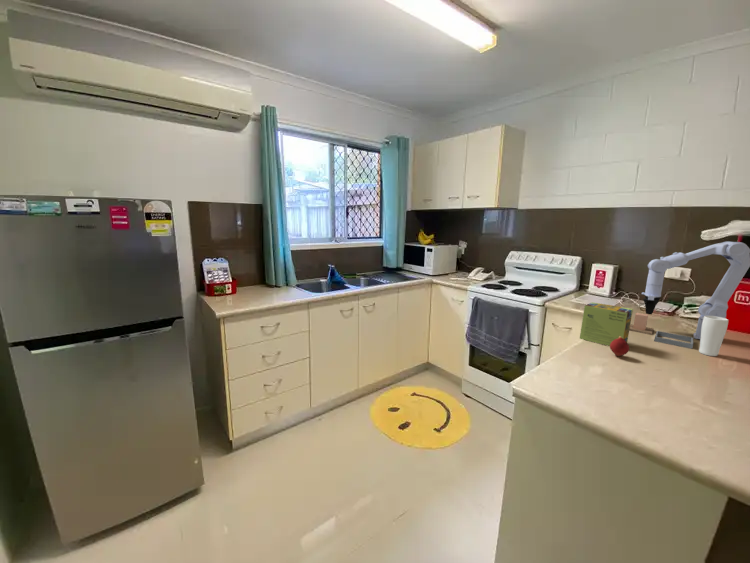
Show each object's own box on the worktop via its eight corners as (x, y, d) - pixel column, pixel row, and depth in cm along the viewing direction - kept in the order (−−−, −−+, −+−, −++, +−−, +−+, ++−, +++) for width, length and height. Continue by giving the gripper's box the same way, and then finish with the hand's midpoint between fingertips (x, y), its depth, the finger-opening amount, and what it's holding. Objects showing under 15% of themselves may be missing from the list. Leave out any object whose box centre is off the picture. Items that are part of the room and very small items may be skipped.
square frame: (656, 334, 148) (656, 330, 148) (692, 341, 140) (693, 337, 139) (654, 341, 140) (654, 336, 139) (692, 348, 131) (693, 344, 131)
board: (627, 325, 162) (628, 323, 162) (653, 330, 155) (653, 328, 155) (624, 329, 155) (625, 327, 155) (651, 334, 148) (652, 333, 148)
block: (634, 326, 158) (636, 312, 157) (645, 328, 155) (648, 314, 154) (633, 328, 155) (635, 314, 154) (645, 330, 152) (647, 316, 150)
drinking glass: (725, 358, 122) (734, 321, 120) (704, 356, 124) (713, 319, 121) (711, 351, 129) (719, 316, 126) (691, 350, 130) (699, 314, 127)
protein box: (621, 349, 129) (628, 312, 126) (579, 338, 140) (583, 305, 138) (627, 343, 136) (633, 308, 133) (586, 334, 147) (591, 301, 144)
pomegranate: (625, 355, 123) (628, 335, 122) (629, 360, 118) (633, 340, 117) (607, 352, 126) (610, 332, 124) (610, 357, 121) (613, 337, 119)
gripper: (644, 281, 158) (640, 308, 160) (641, 285, 148) (637, 313, 150) (663, 283, 153) (659, 311, 155) (662, 287, 143) (656, 316, 145)
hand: (649, 312), depth 152 cm, fingers open, 7 cm apart
